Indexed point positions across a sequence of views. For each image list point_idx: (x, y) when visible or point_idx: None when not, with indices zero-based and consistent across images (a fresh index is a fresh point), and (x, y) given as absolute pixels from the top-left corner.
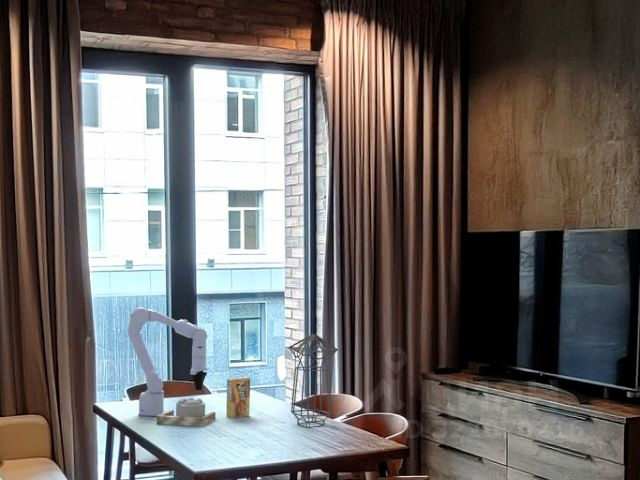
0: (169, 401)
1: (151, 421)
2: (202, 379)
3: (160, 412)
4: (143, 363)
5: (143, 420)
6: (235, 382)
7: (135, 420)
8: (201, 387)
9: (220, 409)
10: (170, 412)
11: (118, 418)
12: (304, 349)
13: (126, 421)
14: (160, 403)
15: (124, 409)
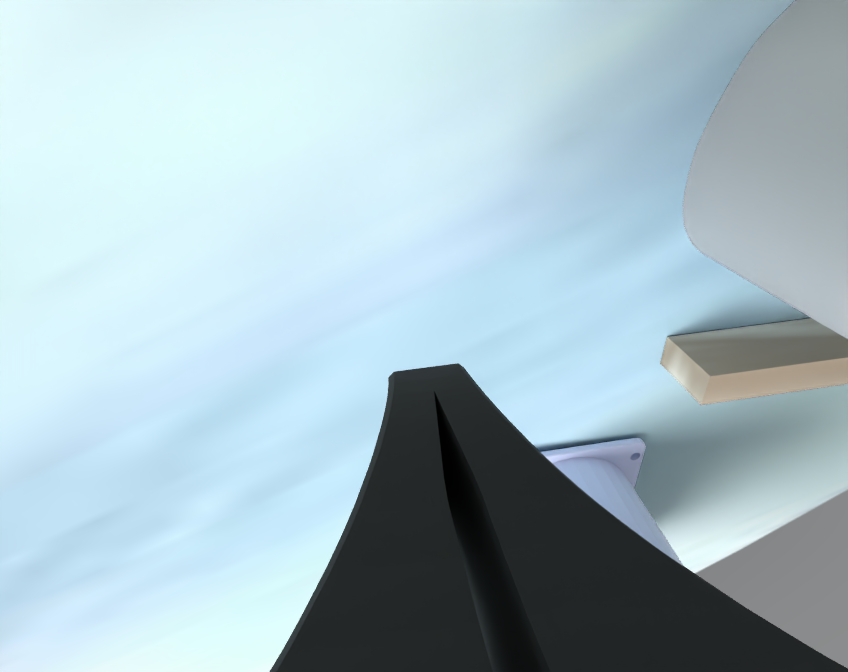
0: (42, 641)
1: (814, 399)
2: (583, 563)
3: (604, 468)
4: None
5: (771, 452)
6: None
7: (766, 485)
8: (456, 390)
9: (18, 62)
10: (786, 359)
11: (700, 567)
12: None
13: (792, 505)
14: (644, 531)
15: None
